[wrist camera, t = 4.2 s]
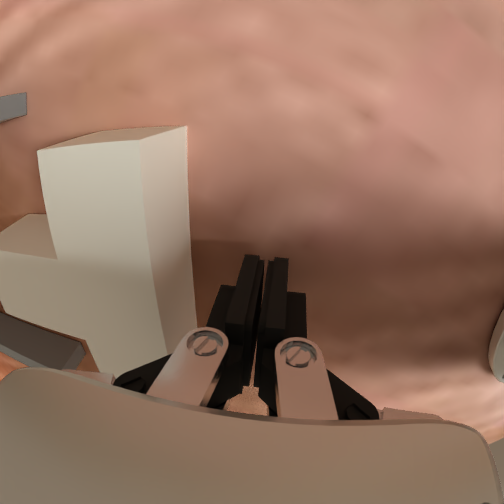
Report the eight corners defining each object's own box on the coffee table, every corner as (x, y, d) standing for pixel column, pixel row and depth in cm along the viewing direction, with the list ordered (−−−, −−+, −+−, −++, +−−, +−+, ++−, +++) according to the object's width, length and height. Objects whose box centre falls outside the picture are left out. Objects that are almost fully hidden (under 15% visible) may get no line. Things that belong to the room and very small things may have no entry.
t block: (187, 125, 10) (139, 139, 7) (200, 354, 16) (181, 411, 13) (17, 144, 11) (-39, 166, 8) (63, 323, 17) (32, 363, 14)
